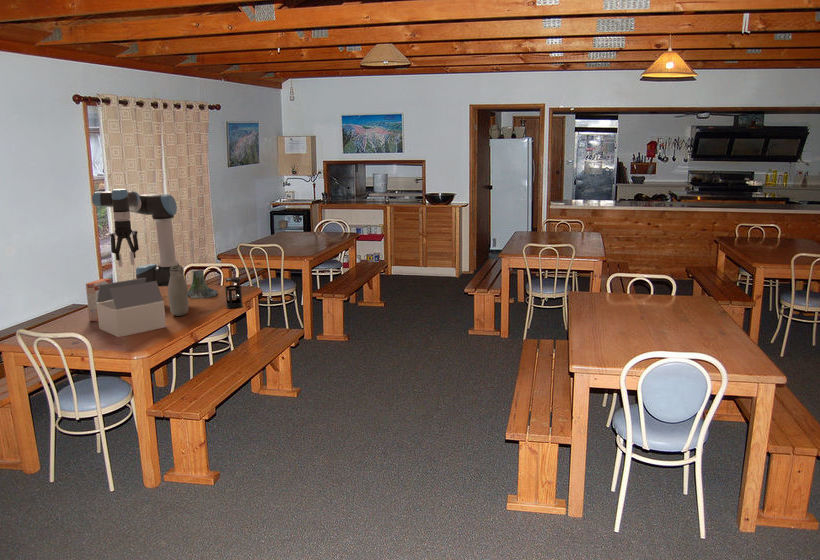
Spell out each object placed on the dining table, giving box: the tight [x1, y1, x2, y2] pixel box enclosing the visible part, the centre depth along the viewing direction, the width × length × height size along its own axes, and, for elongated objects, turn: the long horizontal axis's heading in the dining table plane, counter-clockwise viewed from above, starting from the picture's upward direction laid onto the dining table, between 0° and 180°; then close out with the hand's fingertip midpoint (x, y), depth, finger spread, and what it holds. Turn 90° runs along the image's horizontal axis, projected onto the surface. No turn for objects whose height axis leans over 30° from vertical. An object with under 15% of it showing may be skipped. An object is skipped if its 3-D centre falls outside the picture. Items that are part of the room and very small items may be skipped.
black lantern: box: [224, 267, 244, 310], centre depth 396 cm, size 12×9×23 cm
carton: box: [97, 300, 167, 338], centre depth 355 cm, size 25×23×14 cm
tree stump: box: [188, 269, 218, 299], centre depth 429 cm, size 18×20×18 cm
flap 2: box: [110, 281, 164, 309], centre depth 347 cm, size 24×11×1 cm
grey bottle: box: [167, 264, 189, 317], centre depth 378 cm, size 10×10×28 cm
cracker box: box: [85, 278, 113, 323], centre depth 374 cm, size 14×6×21 cm, turn 168°
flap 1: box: [97, 278, 146, 302], centre depth 359 cm, size 24×11×1 cm
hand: (126, 265), depth 350 cm, fingers open, 6 cm apart
